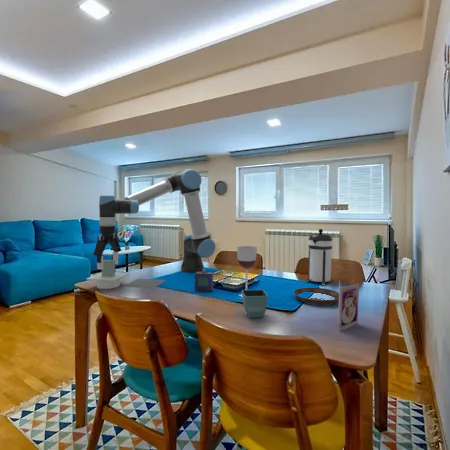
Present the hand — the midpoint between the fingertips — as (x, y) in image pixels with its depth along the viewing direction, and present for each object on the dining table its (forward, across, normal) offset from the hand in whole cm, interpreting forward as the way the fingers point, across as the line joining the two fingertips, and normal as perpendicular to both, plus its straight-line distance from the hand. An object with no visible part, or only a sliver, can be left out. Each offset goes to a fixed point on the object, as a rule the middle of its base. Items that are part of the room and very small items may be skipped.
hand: (108, 266), depth 154 cm
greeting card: (+11, +27, +110) cm, 113 cm away
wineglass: (+11, +1, +72) cm, 73 cm away
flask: (+11, -4, +50) cm, 51 cm away
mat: (+10, -9, +16) cm, 21 cm away
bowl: (+10, 0, 0) cm, 10 cm away
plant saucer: (+11, -1, +104) cm, 105 cm away
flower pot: (+11, +25, +78) cm, 83 cm away
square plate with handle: (+6, 0, 0) cm, 6 cm away
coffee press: (+11, -35, +109) cm, 115 cm away
